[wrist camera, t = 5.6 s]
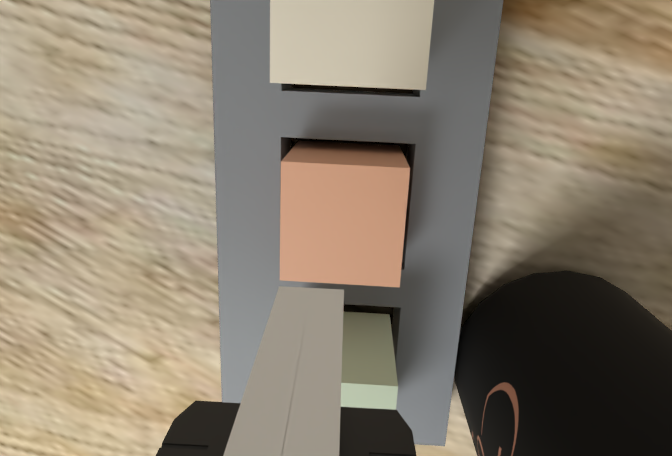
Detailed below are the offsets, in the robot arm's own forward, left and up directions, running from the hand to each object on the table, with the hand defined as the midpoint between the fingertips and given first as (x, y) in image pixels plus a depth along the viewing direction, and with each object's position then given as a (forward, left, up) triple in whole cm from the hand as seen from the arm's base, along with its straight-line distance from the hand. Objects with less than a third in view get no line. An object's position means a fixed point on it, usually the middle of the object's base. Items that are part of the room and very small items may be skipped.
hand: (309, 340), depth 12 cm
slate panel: (0, 0, -16) cm, 16 cm away
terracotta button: (0, 0, -15) cm, 15 cm away
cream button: (0, +8, -13) cm, 15 cm away
